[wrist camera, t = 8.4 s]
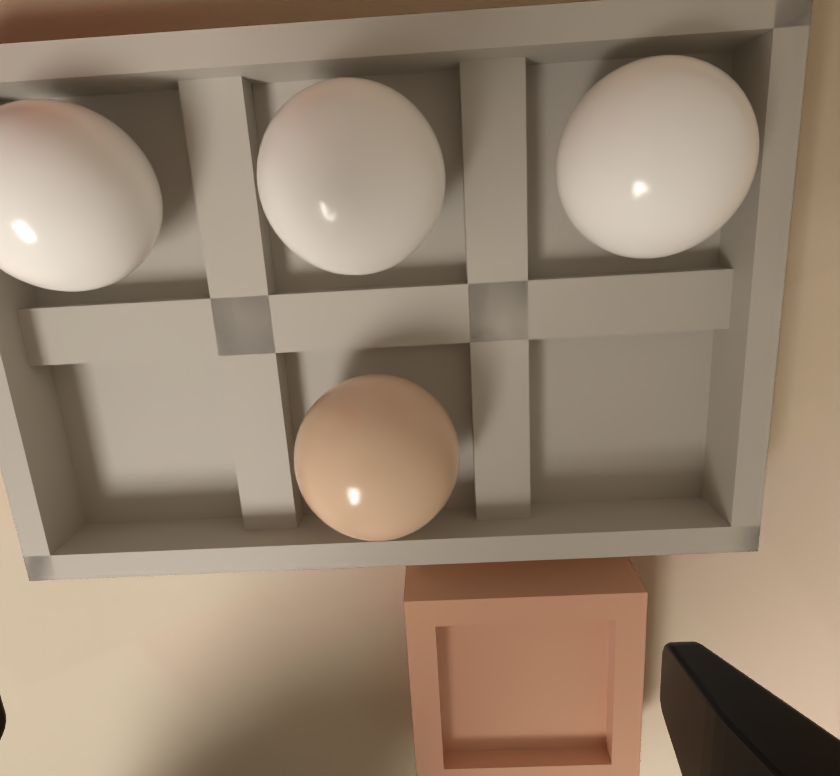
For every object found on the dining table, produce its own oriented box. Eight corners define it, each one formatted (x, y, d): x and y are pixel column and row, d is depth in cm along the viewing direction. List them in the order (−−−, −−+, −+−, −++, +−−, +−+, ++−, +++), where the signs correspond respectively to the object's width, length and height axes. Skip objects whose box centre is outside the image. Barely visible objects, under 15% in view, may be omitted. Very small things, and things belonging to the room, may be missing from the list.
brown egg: (458, 492, 19) (470, 569, 15) (317, 500, 19) (288, 579, 15) (451, 353, 18) (462, 394, 14) (301, 362, 18) (265, 406, 14)
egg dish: (618, 730, 22) (638, 785, 20) (419, 737, 22) (417, 792, 20) (624, 552, 20) (648, 592, 18) (406, 561, 20) (403, 601, 18)
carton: (717, 510, 20) (757, 551, 17) (77, 538, 20) (29, 580, 18) (756, 20, 16) (814, -16, 13) (-30, 76, 17) (-108, 51, 14)
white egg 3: (700, 249, 17) (791, 259, 13) (540, 258, 17) (577, 271, 13) (711, 74, 16) (816, 19, 11) (539, 85, 16) (579, 35, 12)
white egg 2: (447, 263, 17) (452, 278, 13) (291, 272, 17) (246, 289, 13) (439, 92, 16) (442, 45, 12) (273, 103, 16) (215, 61, 12)
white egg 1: (201, 278, 17) (126, 297, 13) (50, 286, 17) (-73, 307, 13) (175, 110, 16) (84, 70, 12) (13, 121, 16) (-133, 86, 12)
